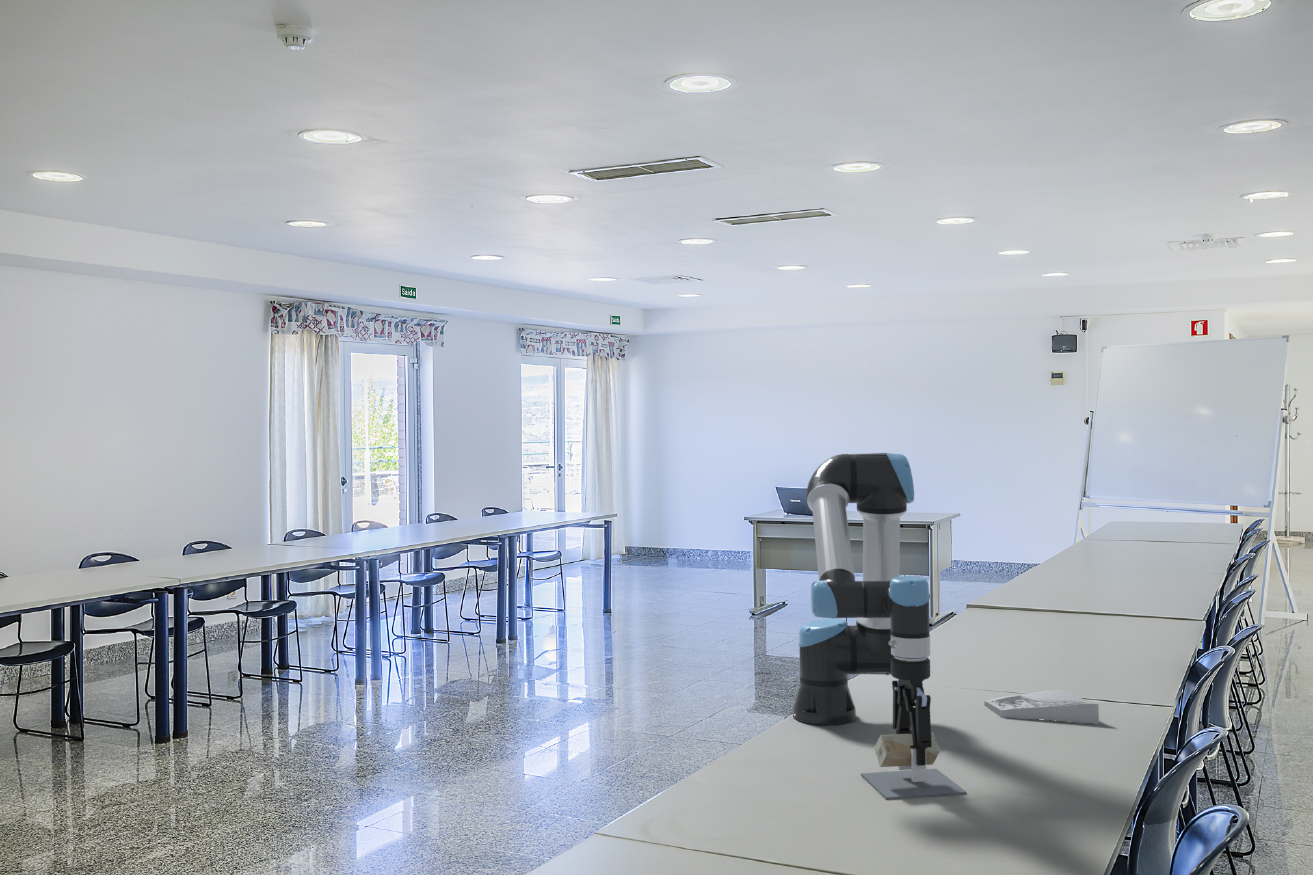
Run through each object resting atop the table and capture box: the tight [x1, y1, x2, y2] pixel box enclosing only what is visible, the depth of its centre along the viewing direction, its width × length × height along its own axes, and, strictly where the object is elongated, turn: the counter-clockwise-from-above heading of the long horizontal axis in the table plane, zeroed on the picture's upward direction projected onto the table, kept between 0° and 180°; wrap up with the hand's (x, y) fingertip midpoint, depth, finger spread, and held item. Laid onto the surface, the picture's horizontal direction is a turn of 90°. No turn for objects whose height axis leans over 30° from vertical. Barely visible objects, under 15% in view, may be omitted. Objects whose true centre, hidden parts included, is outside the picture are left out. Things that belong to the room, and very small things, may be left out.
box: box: [874, 732, 941, 768], centre depth 199 cm, size 5×4×11 cm
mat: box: [860, 768, 968, 800], centre depth 200 cm, size 14×16×1 cm
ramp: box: [983, 689, 1100, 725], centre depth 248 cm, size 28×16×5 cm, turn 52°
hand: (912, 774), depth 200 cm, fingers closed on box, 6 cm apart
